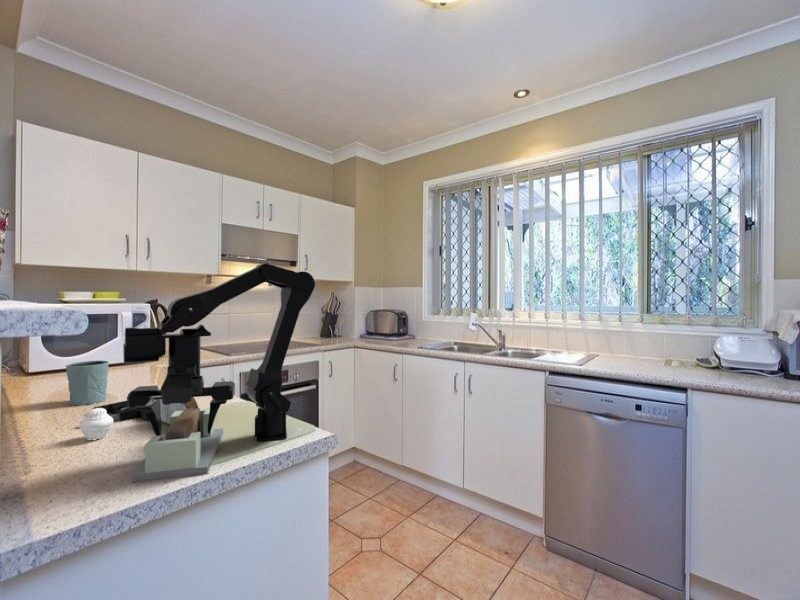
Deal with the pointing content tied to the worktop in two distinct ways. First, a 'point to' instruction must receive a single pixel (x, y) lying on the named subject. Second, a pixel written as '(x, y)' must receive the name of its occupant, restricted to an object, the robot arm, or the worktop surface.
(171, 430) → the rail
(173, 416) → the post frame
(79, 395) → the teal plant pot
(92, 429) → the muffin
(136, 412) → the door handle
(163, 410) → the tin
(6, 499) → the worktop surface
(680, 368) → the worktop surface
